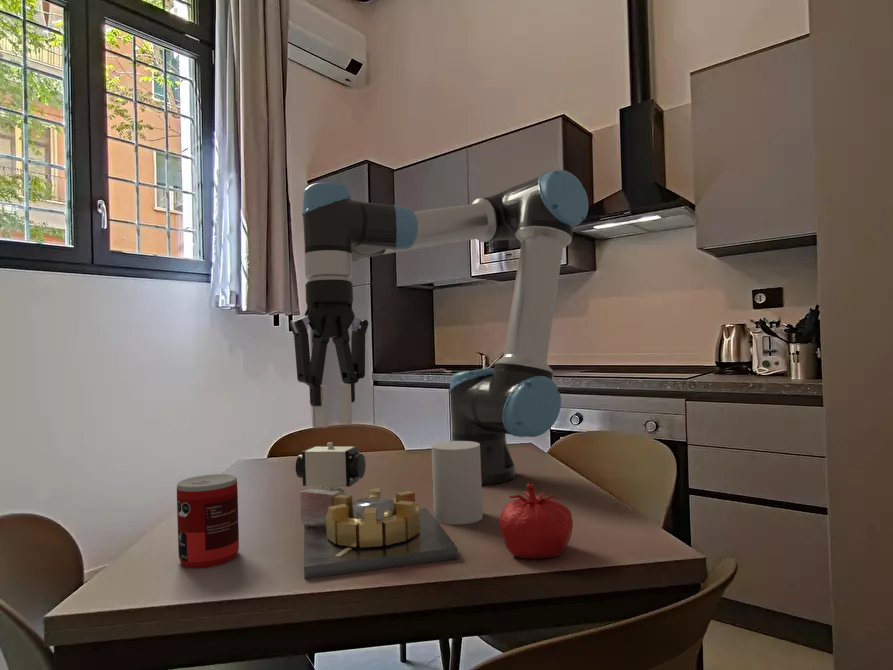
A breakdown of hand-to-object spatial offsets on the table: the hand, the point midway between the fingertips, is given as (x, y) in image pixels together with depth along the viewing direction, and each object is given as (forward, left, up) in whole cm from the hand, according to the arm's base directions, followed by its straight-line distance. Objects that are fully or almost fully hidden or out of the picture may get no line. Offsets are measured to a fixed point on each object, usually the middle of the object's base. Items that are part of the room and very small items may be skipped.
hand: (333, 424), depth 92 cm
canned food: (+18, +7, -17) cm, 26 cm away
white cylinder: (-20, +1, -17) cm, 26 cm away
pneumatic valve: (0, -12, -17) cm, 20 cm away
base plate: (-5, +9, -17) cm, 20 cm away
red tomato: (-26, +20, -17) cm, 37 cm away
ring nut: (-3, +7, -15) cm, 17 cm away
